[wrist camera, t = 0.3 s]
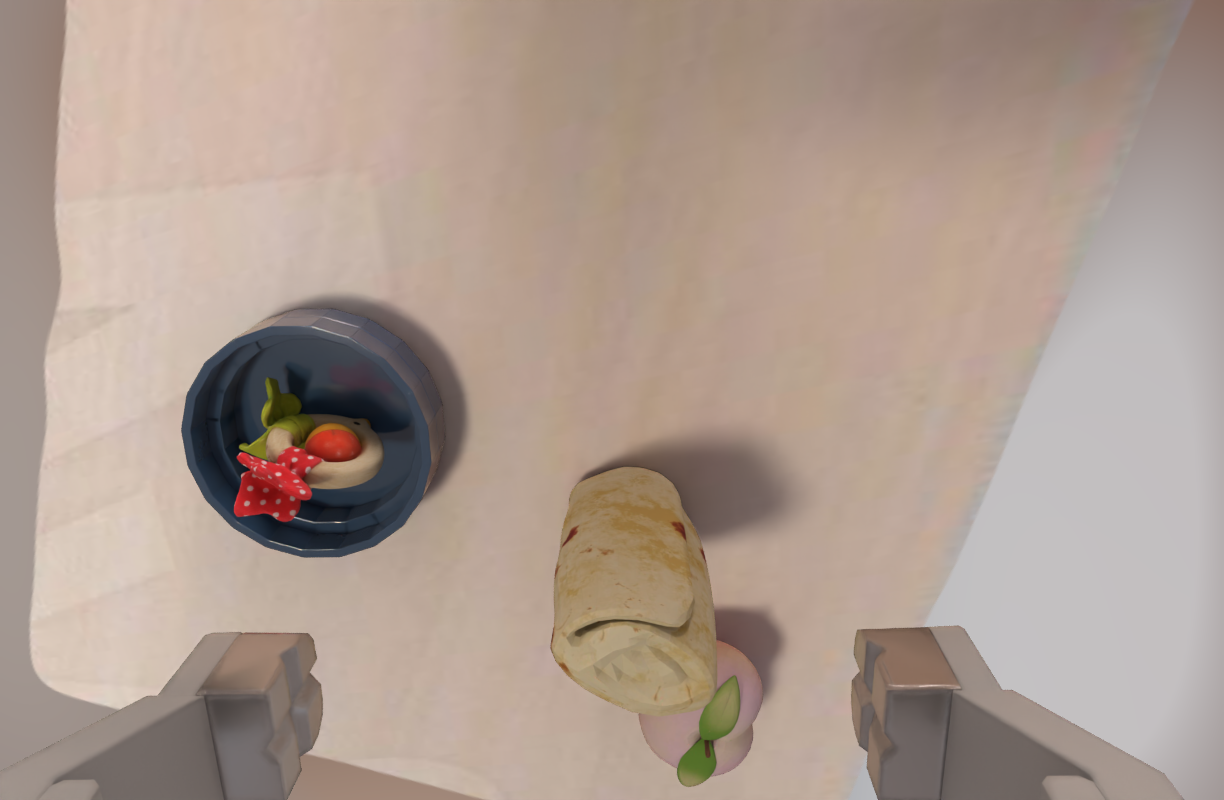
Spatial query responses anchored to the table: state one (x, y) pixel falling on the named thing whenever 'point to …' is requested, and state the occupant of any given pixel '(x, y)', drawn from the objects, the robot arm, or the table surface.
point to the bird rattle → (303, 456)
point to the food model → (634, 596)
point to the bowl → (325, 384)
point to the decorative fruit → (711, 723)
